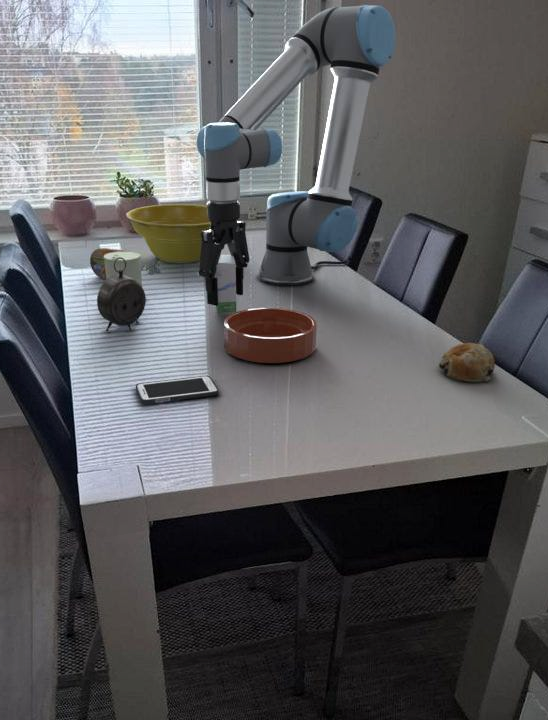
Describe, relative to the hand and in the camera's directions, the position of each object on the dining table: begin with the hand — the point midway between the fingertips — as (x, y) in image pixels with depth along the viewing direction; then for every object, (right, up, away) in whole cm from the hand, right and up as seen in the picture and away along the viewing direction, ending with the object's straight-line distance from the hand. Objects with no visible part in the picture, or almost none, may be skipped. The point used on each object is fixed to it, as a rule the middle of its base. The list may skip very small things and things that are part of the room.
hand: (225, 299), depth 162 cm
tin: (-32, +13, +28) cm, 45 cm away
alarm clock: (-23, -9, -7) cm, 26 cm away
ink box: (0, -2, +1) cm, 2 cm away
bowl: (+10, -16, -17) cm, 25 cm away
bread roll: (+49, -23, -28) cm, 61 cm away
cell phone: (-8, -28, -37) cm, 47 cm away
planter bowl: (-16, +26, +48) cm, 57 cm away
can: (-26, +2, +11) cm, 28 cm away
